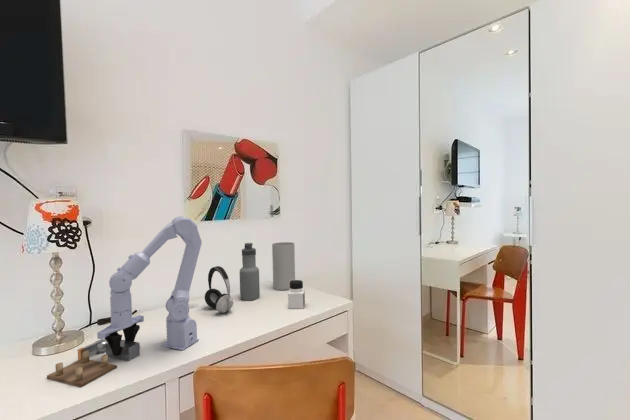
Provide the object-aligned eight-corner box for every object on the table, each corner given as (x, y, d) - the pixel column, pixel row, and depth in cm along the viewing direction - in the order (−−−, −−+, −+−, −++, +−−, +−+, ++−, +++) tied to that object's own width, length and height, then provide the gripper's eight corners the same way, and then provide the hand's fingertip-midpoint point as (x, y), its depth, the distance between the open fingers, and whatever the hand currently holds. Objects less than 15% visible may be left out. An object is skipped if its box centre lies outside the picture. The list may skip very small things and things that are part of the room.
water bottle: (239, 296, 161) (238, 242, 160) (258, 293, 164) (257, 241, 163) (240, 301, 151) (239, 245, 150) (260, 299, 154) (259, 243, 153)
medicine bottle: (303, 308, 140) (303, 282, 139) (288, 308, 140) (287, 282, 140) (304, 303, 147) (304, 278, 147) (289, 303, 147) (289, 278, 147)
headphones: (238, 313, 136) (236, 268, 135) (220, 318, 130) (219, 271, 129) (217, 303, 150) (216, 262, 149) (200, 307, 144) (199, 265, 143)
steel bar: (139, 356, 99) (139, 342, 98) (129, 362, 95) (128, 347, 95) (117, 352, 102) (116, 338, 102) (106, 357, 98) (105, 343, 98)
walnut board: (116, 369, 91) (116, 355, 91) (81, 388, 82) (81, 373, 82) (84, 361, 96) (83, 348, 96) (47, 379, 86) (46, 364, 86)
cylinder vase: (297, 284, 180) (296, 242, 180) (292, 290, 168) (291, 245, 167) (276, 284, 182) (275, 242, 181) (270, 290, 170) (269, 245, 169)
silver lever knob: (113, 348, 103) (113, 337, 103) (84, 362, 95) (83, 350, 95) (104, 346, 105) (103, 336, 105) (74, 360, 96) (74, 348, 96)
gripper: (132, 301, 106) (133, 340, 106) (89, 316, 92) (91, 361, 93) (147, 303, 104) (149, 343, 104) (106, 319, 90) (107, 364, 90)
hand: (122, 351), depth 98 cm, fingers closed on steel bar, 4 cm apart
